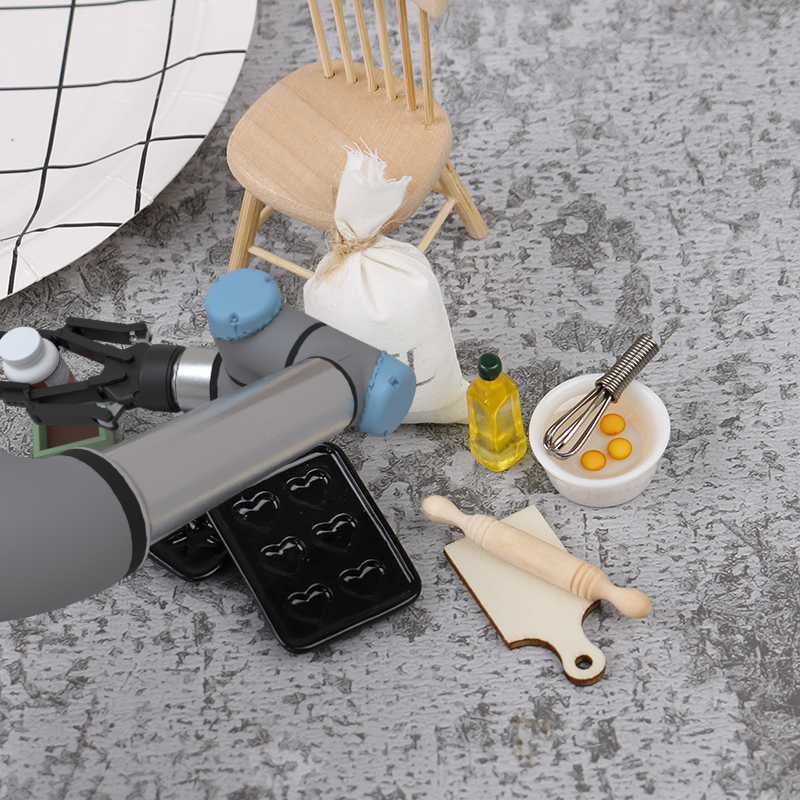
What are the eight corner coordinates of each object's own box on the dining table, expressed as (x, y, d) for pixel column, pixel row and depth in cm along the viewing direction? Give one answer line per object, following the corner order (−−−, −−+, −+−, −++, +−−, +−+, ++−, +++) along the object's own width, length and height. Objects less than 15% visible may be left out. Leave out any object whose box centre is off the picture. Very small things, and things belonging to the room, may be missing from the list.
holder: (114, 454, 121) (106, 439, 118) (44, 472, 120) (33, 457, 117) (109, 399, 126) (101, 383, 123) (41, 416, 125) (31, 400, 122)
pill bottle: (20, 410, 111) (-22, 354, 102) (53, 371, 114) (15, 313, 105) (61, 428, 110) (21, 373, 100) (93, 388, 112) (57, 331, 103)
